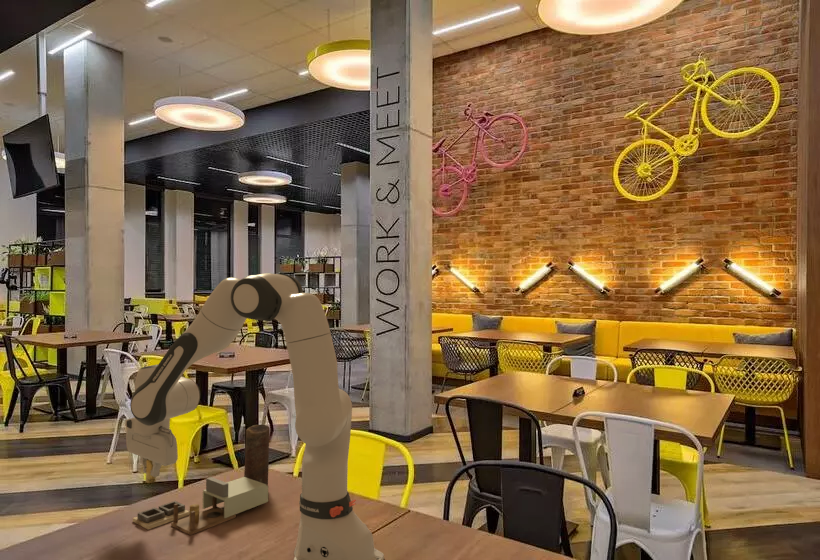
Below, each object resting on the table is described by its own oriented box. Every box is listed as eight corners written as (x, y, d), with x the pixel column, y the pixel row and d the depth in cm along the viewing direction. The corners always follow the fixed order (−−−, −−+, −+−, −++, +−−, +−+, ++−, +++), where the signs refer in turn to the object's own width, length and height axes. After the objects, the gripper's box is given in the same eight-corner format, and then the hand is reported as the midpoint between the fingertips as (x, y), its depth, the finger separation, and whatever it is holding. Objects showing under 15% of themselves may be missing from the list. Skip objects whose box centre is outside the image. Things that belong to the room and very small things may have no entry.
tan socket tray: (189, 514, 160) (189, 505, 160) (148, 529, 150) (148, 520, 150) (173, 507, 165) (173, 499, 165) (132, 521, 155) (132, 512, 155)
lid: (268, 501, 166) (268, 472, 166) (225, 518, 155) (225, 486, 155) (245, 493, 173) (245, 464, 173) (202, 508, 161) (202, 477, 161)
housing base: (235, 517, 158) (236, 497, 158) (190, 535, 147) (190, 513, 147) (216, 509, 164) (216, 489, 164) (171, 525, 153) (171, 504, 153)
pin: (157, 481, 155) (157, 459, 155) (149, 483, 153) (149, 461, 153) (152, 479, 157) (153, 457, 157) (144, 481, 155) (144, 459, 155)
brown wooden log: (273, 488, 181) (273, 425, 181) (260, 496, 174) (261, 431, 174) (252, 485, 183) (252, 423, 183) (238, 493, 176) (239, 429, 176)
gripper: (184, 428, 151) (183, 479, 151) (144, 415, 163) (143, 463, 163) (161, 432, 146) (160, 486, 146) (122, 419, 158) (121, 469, 158)
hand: (151, 474), depth 155 cm, fingers closed on pin, 2 cm apart
